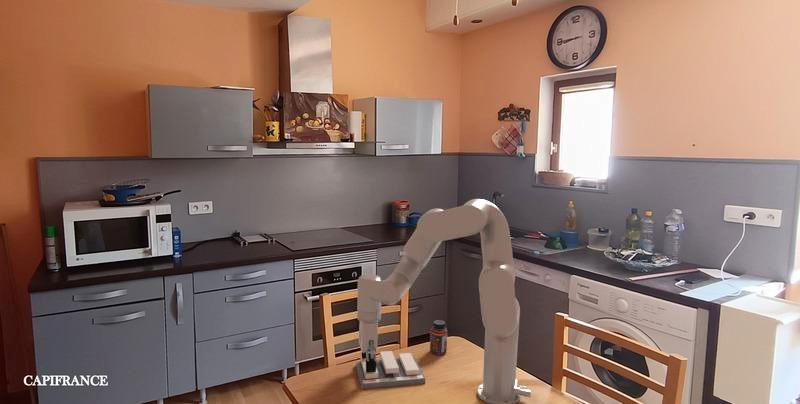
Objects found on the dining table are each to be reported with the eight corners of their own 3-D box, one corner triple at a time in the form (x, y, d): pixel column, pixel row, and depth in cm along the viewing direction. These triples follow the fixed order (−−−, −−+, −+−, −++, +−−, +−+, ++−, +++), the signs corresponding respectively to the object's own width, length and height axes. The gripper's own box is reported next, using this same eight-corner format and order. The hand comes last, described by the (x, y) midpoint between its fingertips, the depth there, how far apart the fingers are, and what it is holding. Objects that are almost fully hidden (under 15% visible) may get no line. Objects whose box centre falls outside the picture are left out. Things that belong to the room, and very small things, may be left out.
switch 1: (372, 360, 165) (372, 355, 165) (378, 377, 153) (378, 373, 153) (360, 361, 164) (360, 356, 164) (365, 379, 152) (365, 374, 152)
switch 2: (410, 357, 167) (410, 352, 167) (418, 374, 156) (418, 369, 156) (398, 358, 167) (398, 353, 166) (406, 375, 155) (406, 370, 155)
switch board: (414, 361, 169) (414, 356, 168) (425, 383, 154) (425, 377, 154) (355, 365, 164) (355, 361, 164) (361, 388, 150) (361, 383, 150)
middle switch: (391, 355, 166) (391, 350, 166) (398, 372, 154) (398, 367, 154) (379, 356, 165) (380, 351, 165) (386, 373, 154) (386, 368, 153)
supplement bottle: (426, 353, 175) (427, 322, 173) (435, 347, 180) (436, 317, 178) (441, 357, 171) (442, 326, 170) (449, 351, 176) (450, 321, 175)
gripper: (354, 304, 164) (353, 353, 166) (360, 325, 147) (360, 378, 149) (376, 303, 165) (375, 351, 168) (385, 323, 148) (384, 376, 151)
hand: (368, 364), depth 158 cm, fingers open, 9 cm apart
